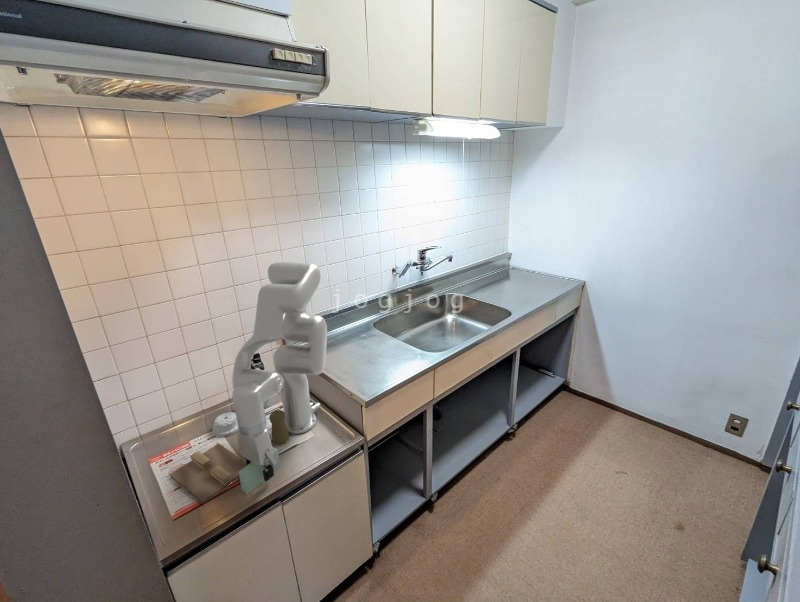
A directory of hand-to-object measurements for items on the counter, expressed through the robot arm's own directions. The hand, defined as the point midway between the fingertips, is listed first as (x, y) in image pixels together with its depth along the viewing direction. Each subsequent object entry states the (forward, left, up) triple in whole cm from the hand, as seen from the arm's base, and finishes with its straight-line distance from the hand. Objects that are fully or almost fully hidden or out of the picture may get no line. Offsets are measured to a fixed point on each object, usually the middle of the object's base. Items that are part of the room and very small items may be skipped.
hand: (260, 472), depth 112 cm
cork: (-15, -9, -3) cm, 17 cm away
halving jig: (+7, -15, -2) cm, 17 cm away
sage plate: (0, 0, -2) cm, 2 cm away
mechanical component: (-8, -30, -3) cm, 31 cm away
